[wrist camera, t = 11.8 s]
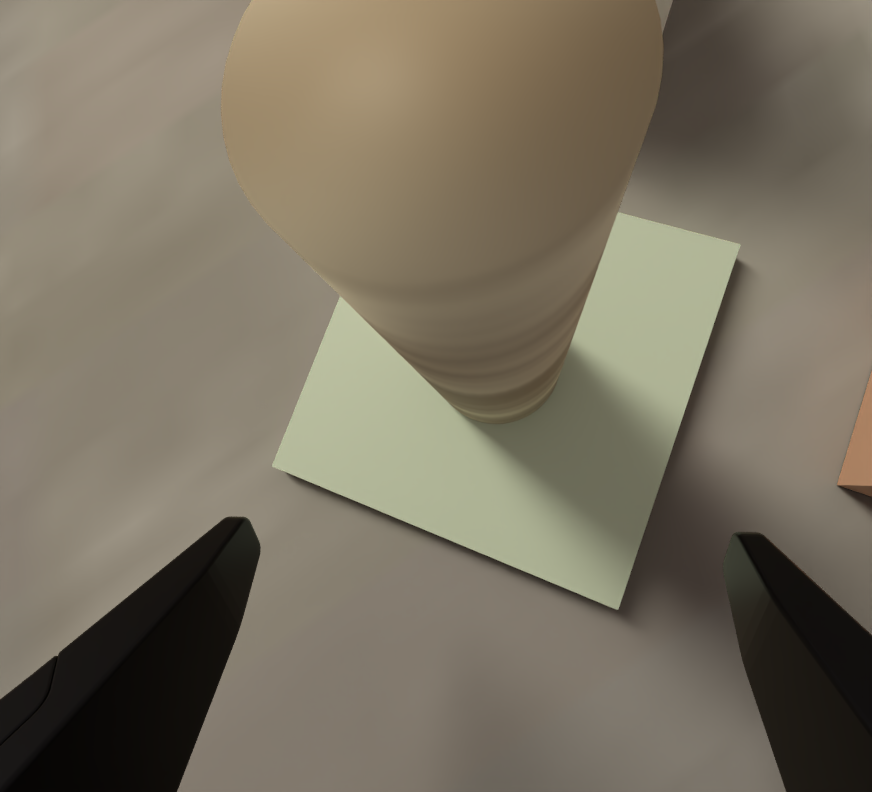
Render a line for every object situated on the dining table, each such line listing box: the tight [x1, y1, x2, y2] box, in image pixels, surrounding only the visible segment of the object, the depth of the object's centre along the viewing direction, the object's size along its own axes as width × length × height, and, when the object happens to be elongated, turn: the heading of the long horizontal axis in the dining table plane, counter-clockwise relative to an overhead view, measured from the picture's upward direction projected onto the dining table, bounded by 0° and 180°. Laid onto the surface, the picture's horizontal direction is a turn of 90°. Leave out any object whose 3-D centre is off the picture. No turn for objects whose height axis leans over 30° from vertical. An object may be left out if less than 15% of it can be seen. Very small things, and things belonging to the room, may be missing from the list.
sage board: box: [272, 212, 741, 610], centre depth 19 cm, size 13×13×1 cm
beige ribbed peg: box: [221, 0, 664, 424], centre depth 12 cm, size 4×4×14 cm
